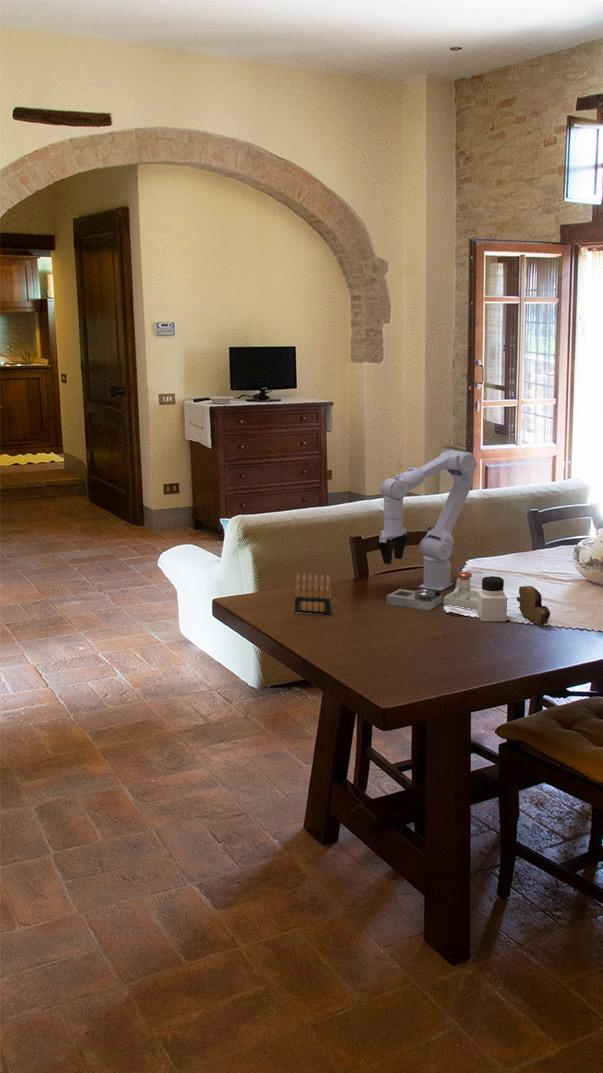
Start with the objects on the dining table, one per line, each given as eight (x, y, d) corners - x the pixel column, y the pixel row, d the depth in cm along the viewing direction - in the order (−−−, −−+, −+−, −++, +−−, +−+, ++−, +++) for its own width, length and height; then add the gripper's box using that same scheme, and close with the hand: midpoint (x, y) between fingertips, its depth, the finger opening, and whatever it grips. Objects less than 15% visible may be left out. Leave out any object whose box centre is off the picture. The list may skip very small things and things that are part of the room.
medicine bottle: (506, 621, 277) (508, 580, 274) (481, 621, 277) (482, 580, 275) (501, 614, 284) (503, 574, 281) (477, 614, 284) (478, 574, 282)
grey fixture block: (399, 596, 303) (399, 581, 302) (441, 603, 296) (442, 587, 295) (386, 603, 296) (386, 588, 295) (429, 610, 289) (429, 594, 288)
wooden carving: (555, 628, 270) (557, 593, 268) (541, 630, 269) (542, 595, 267) (524, 612, 286) (526, 579, 284) (510, 614, 284) (512, 580, 282)
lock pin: (456, 600, 297) (457, 571, 295) (470, 600, 297) (471, 572, 295) (456, 603, 293) (457, 575, 291) (471, 604, 293) (472, 575, 291)
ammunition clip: (332, 614, 286) (331, 574, 283) (330, 615, 284) (330, 575, 282) (296, 612, 288) (295, 572, 286) (294, 613, 286) (294, 573, 284)
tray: (458, 596, 303) (458, 588, 302) (492, 601, 297) (492, 593, 296) (443, 605, 294) (443, 597, 293) (478, 610, 288) (478, 602, 287)
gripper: (392, 512, 310) (391, 554, 313) (370, 520, 298) (370, 564, 301) (412, 514, 306) (412, 557, 309) (391, 522, 294) (391, 567, 297)
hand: (392, 561), depth 305 cm, fingers open, 7 cm apart
